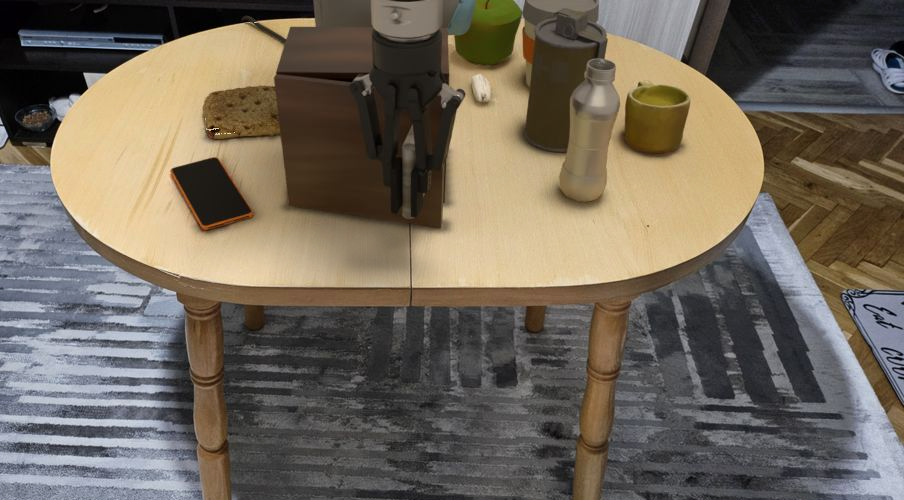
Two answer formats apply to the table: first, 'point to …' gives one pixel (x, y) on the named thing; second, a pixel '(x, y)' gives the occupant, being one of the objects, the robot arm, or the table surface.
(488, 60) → the apple
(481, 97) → the white ridged oblong
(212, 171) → the smartphone
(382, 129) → the cupboard door
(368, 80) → the robot arm
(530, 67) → the reusable coffee cup
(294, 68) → the cupboard
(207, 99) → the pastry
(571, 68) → the canister
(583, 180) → the plastic bottle
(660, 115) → the mug
